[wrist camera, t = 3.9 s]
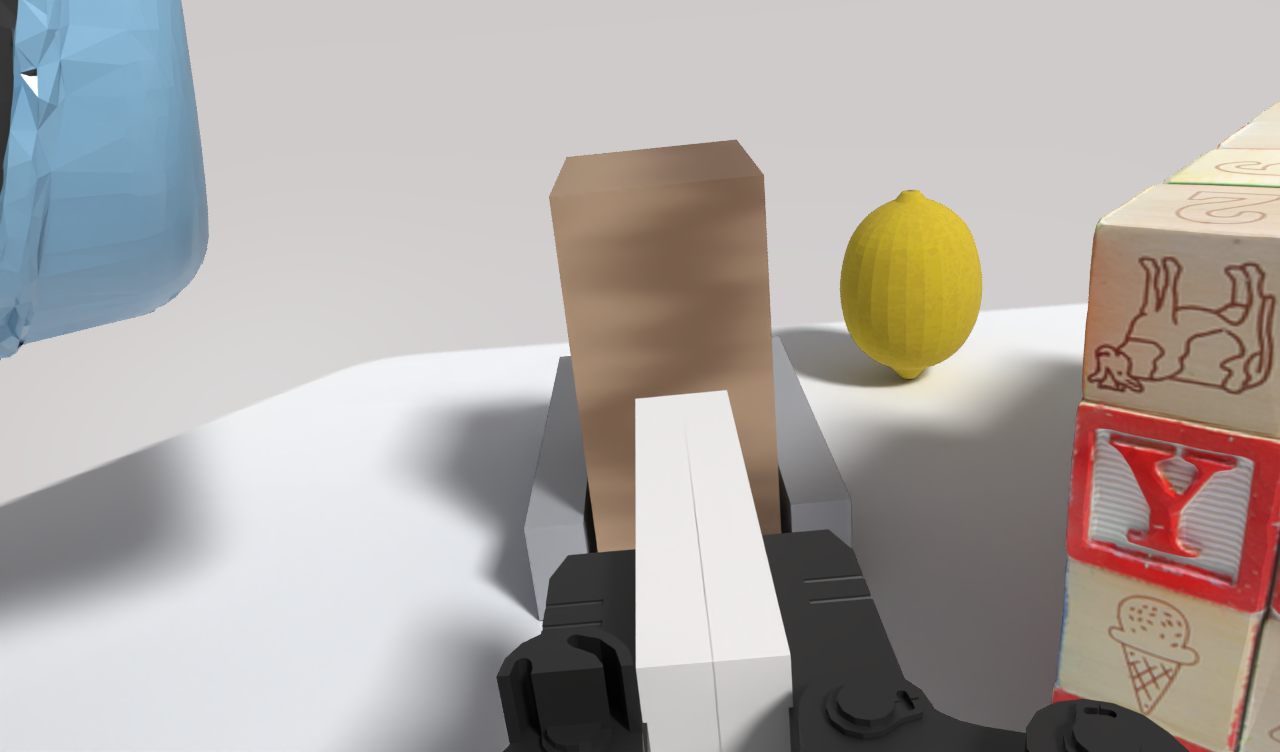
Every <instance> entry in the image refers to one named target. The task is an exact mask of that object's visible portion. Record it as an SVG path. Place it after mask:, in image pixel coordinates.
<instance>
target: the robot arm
mask: <svg viewBox="0 0 1280 752" xmlns="http://www.w3.org/2000/svg"><path fill="white" fill-rule="evenodd" d="M208 236H209V234H208V207H207V197H206V185H205V175H204V166H203V157H202V148H201V140H200V132H199V124H198V115H197V107H196V100H195V93H194V86H193V79H192V73H191V65H190V58H189V51H188V44H187V37H186V31H185V23H184V16H183V9H182V3H181V0H0V360H1V358H6V357H10V356H12V355H13V354H15V353H16V352H17V351H18V350H19V349H20V347H21V346H22V345H23V344H27V343H31V342H36V341H40V340H43V339H47V338H52V337H56V336H59V335H64V334H68V333H72V332H76V331H80V330H84V329H88V328H92V327H96V326H100V325H104V324H108V323H113V322H117V321H121V320H125V319H129V318H134V317H138V316H142V315H145V314H148V313H151V312H153V311H155V309H156V308H158V307H161V306H163V305H165V304H166V303H168V302H169V301H171V300H172V299H173V298H175V297H176V296H177V295H178V294H179V293H180V292H181V290H183V289H184V288H185V287H186V286H187V285H188V284H189V283H190V282H191V280H192V279H193V278H194V277H195V275H196V273H197V271H198V269H199V268H200V265H201V264H202V263H203V260H204V257H205V254H206V251H207V244H208ZM635 451H636V549H631V550H620V551H608V552H597V553H586V554H575V555H568V556H567V557H566V558H565V559H564V561H563V562H562V563H561V565H560V566H559V567H558V568H557V570H556V571H555V572H554V573H553V575H552V576H551V577H550V579H549V585H548V592H547V598H546V609H545V612H544V618H543V625H542V626H543V631H542V632H541V634H540V635H538V636H536V637H534V638H532V639H530V640H528V641H526V642H524V643H522V644H521V645H520V646H519V647H518V648H516V649H515V650H514V651H513V652H512V653H511V654H510V655H509V656H508V657H507V658H505V660H504V662H503V664H502V666H501V668H500V671H499V673H498V675H497V682H498V687H499V692H500V697H501V702H502V707H503V712H504V717H505V722H506V727H507V732H508V737H509V742H510V745H509V746H508V747H507V748H506V749H505V750H504V751H503V752H1190V751H1189V750H1188V749H1186V748H1185V747H1184V746H1183V745H1182V744H1181V743H1180V742H1179V741H1178V740H1177V739H1175V738H1174V737H1173V736H1172V735H1171V734H1170V733H1169V732H1168V731H1166V730H1165V729H1163V728H1162V727H1160V726H1159V725H1157V724H1156V723H1155V722H1153V721H1152V720H1150V719H1149V718H1147V717H1146V716H1144V715H1143V714H1140V713H1138V712H1135V711H1133V710H1130V709H1128V708H1125V707H1122V706H1120V705H1117V704H1115V703H1110V702H1103V701H1097V700H1090V699H1075V700H1066V701H1057V702H1055V703H1053V704H1051V705H1049V706H1047V707H1045V708H1043V709H1041V710H1039V711H1037V712H1036V714H1035V715H1034V717H1033V718H1032V720H1031V721H1030V723H1029V724H1028V726H1027V727H1026V733H1021V732H1015V731H1009V730H1003V729H996V728H990V727H984V726H979V725H975V724H971V723H967V722H963V721H960V720H957V719H955V718H952V717H950V716H948V715H945V714H943V713H941V712H939V711H937V710H936V709H934V707H933V705H932V704H931V703H930V701H929V700H928V699H927V697H926V696H925V694H924V693H923V692H922V690H921V689H919V688H918V687H916V686H915V685H913V684H912V683H910V682H909V681H907V680H906V679H905V678H904V676H903V674H902V671H901V669H900V666H899V664H898V662H897V659H896V657H895V654H894V652H893V649H892V647H891V644H890V642H889V639H888V637H887V634H886V632H885V629H884V627H883V624H882V622H881V619H880V617H879V614H878V612H877V609H876V607H875V604H874V602H873V599H872V600H871V595H870V592H869V589H868V587H867V584H866V582H865V579H863V576H862V572H861V569H860V567H859V564H858V562H857V559H856V557H855V554H854V552H853V549H852V548H850V547H849V546H848V545H847V544H846V543H844V542H843V541H842V540H841V539H840V538H838V537H837V536H836V535H835V534H833V533H832V532H831V531H830V530H829V529H825V530H814V531H803V532H792V533H780V534H769V535H762V534H761V530H760V526H759V522H758V518H757V513H756V509H755V505H754V501H753V497H752V493H751V488H750V484H749V480H748V476H747V472H746V468H745V463H744V459H743V455H742V451H741V447H740V443H739V439H738V434H737V430H736V426H735V422H734V418H733V414H732V409H731V405H730V401H729V397H728V393H727V390H723V391H712V392H702V393H691V394H681V395H670V396H659V397H649V398H638V399H635Z"/></svg>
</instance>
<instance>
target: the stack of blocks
mask: <svg viewBox="0 0 1280 752" xmlns="http://www.w3.org/2000/svg"><path fill="white" fill-rule="evenodd" d="M1082 391H1083V398H1082V400H1081V402H1080V404H1079V406H1078V410H1077V415H1076V426H1075V436H1074V444H1073V452H1072V461H1071V475H1070V490H1069V503H1068V523H1067V532H1066V542H1065V546H1066V550H1067V554H1068V555H1067V562H1066V571H1065V589H1064V610H1063V620H1062V629H1061V639H1060V648H1059V658H1058V673H1057V679H1056V681H1055V682H1054V685H1053V693H1052V703H1051V704H1053V703H1055V702H1057V701H1066V700H1075V699H1090V700H1097V701H1103V702H1110V703H1115V704H1117V705H1120V706H1122V707H1125V708H1128V709H1130V710H1133V711H1135V712H1138V713H1140V714H1143V715H1144V716H1146V717H1147V718H1149V719H1150V720H1152V721H1153V722H1155V723H1156V724H1157V725H1159V726H1160V727H1162V728H1163V729H1165V730H1166V731H1168V732H1169V733H1170V734H1171V735H1172V736H1173V737H1174V738H1175V739H1177V740H1178V741H1179V742H1180V743H1181V744H1182V745H1183V746H1184V747H1185V748H1186V749H1188V750H1189V751H1190V752H1280V103H1276V104H1275V105H1273V106H1271V107H1270V108H1268V109H1267V110H1265V111H1264V112H1263V113H1261V114H1260V115H1258V116H1257V117H1255V118H1254V119H1253V120H1251V121H1250V122H1249V123H1248V125H1246V126H1244V127H1242V128H1241V129H1240V130H1238V131H1237V132H1236V133H1235V134H1234V135H1232V136H1230V137H1228V138H1227V139H1225V140H1224V141H1223V142H1222V143H1221V144H1220V145H1219V146H1218V148H1217V150H1212V151H1209V152H1206V153H1205V154H1203V155H1201V156H1200V157H1199V158H1197V159H1196V160H1195V161H1193V162H1192V163H1190V164H1189V165H1187V166H1185V167H1184V168H1182V169H1181V170H1179V171H1178V172H1176V173H1175V174H1173V175H1172V176H1171V177H1170V178H1168V179H1167V180H1164V182H1163V183H1162V184H1157V185H1154V186H1152V187H1149V188H1147V189H1146V190H1144V191H1143V192H1141V193H1140V194H1139V195H1137V196H1136V197H1134V198H1133V199H1131V200H1130V201H1128V202H1127V203H1125V204H1123V205H1122V206H1120V207H1119V208H1117V209H1116V210H1114V211H1112V212H1111V213H1109V214H1108V215H1106V216H1104V217H1103V218H1101V219H1100V220H1099V222H1098V223H1097V225H1096V229H1095V233H1094V238H1093V248H1092V258H1091V269H1090V285H1089V301H1088V312H1087V320H1086V330H1085V344H1084V357H1083V377H1082Z"/></svg>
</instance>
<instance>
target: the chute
mask: <svg viewBox="0 0 1280 752" xmlns="http://www.w3.org/2000/svg"><path fill="white" fill-rule="evenodd" d="M772 355H773V375H774V396H775V416H776V437H777V458H778V478H779V499H780V519H781V533H792V532H803V531H814V530H825V529H829V530H830V531H831V532H832V533H833V534H835V535H836V536H837V537H838V538H840V539H841V540H842V541H843V542H844V543H846V544H847V545H848V546H849V547H850V548H852V525H851V498H850V496H849V493H848V491H847V489H846V487H845V484H844V482H843V480H842V478H841V475H840V473H839V471H838V468H837V466H836V464H835V462H834V459H833V457H832V455H831V453H830V450H829V448H828V446H827V444H826V441H825V439H824V437H823V434H822V432H821V430H820V428H819V425H818V423H817V421H816V419H815V416H814V414H813V412H812V410H811V407H810V405H809V403H808V400H807V398H806V396H805V394H804V391H803V389H802V387H801V385H800V382H799V380H798V378H797V376H796V373H795V371H794V369H793V367H792V364H791V362H790V360H789V357H788V355H787V353H786V351H785V348H784V346H783V344H782V342H781V339H780V337H779V336H774V337H772ZM524 533H525V538H526V544H527V550H528V556H529V562H530V568H531V573H532V579H533V585H534V591H535V597H536V603H537V608H538V614H539V620H543V618H544V612H545V609H546V598H547V592H548V585H549V579H550V577H551V576H552V575H553V573H554V572H555V571H556V570H557V568H558V567H559V566H560V565H561V563H562V562H563V561H564V559H565V558H566V557H567V556H568V555H575V554H586V553H597V552H598V549H597V541H596V534H595V527H594V520H593V512H592V505H591V498H590V490H589V483H588V476H587V469H586V461H585V454H584V447H583V439H582V432H581V425H580V418H579V410H578V403H577V396H576V389H575V381H574V374H573V367H572V359H571V356H566V357H560V359H559V364H558V368H557V373H556V378H555V383H554V388H553V392H552V397H551V402H550V407H549V411H548V416H547V421H546V426H545V430H544V435H543V440H542V445H541V450H540V454H539V459H538V464H537V469H536V473H535V478H534V483H533V488H532V493H531V497H530V502H529V507H528V512H527V516H526V521H525V526H524Z"/></svg>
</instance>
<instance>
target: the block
mask: <svg viewBox="0 0 1280 752" xmlns="http://www.w3.org/2000/svg"><path fill="white" fill-rule="evenodd" d="M764 191H765V190H764V175H763V173H762V172H761V171H760V170H759V168H758V167H757V166H756V164H755V163H754V162H753V160H752V159H751V158H750V156H749V155H748V154H747V153H746V151H745V150H744V149H743V147H742V146H741V145H740V144H739V142H738V141H737V140H729V141H719V142H711V143H701V144H691V145H681V146H672V147H662V148H651V149H642V150H632V151H623V152H613V153H603V154H593V155H584V156H574V157H567V158H566V160H565V162H564V164H563V167H562V169H561V171H560V173H559V176H558V178H557V180H556V182H555V185H554V187H553V189H552V192H551V194H550V196H549V199H550V206H551V214H552V221H553V228H554V236H555V243H556V250H557V257H558V264H559V272H560V279H561V287H562V294H563V300H564V308H565V315H566V323H567V329H568V337H569V345H570V352H571V359H572V367H573V374H574V381H575V389H576V396H577V403H578V410H579V418H580V425H581V432H582V439H583V447H584V454H585V461H586V469H587V476H588V483H589V490H590V498H591V505H592V512H593V520H594V527H595V534H596V541H597V549H598V552H608V551H620V550H631V549H636V451H635V399H638V398H649V397H659V396H670V395H681V394H691V393H702V392H712V391H723V390H727V393H728V397H729V401H730V405H731V409H732V414H733V418H734V422H735V426H736V430H737V434H738V439H739V443H740V447H741V451H742V455H743V459H744V463H745V468H746V472H747V476H748V480H749V484H750V488H751V493H752V497H753V501H754V505H755V509H756V513H757V518H758V522H759V526H760V530H761V534H762V535H769V534H780V533H781V519H780V499H779V478H778V458H777V437H776V416H775V396H774V375H773V355H772V334H771V315H770V294H769V273H768V252H767V233H766V232H767V231H766V211H765V192H764Z"/></svg>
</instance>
